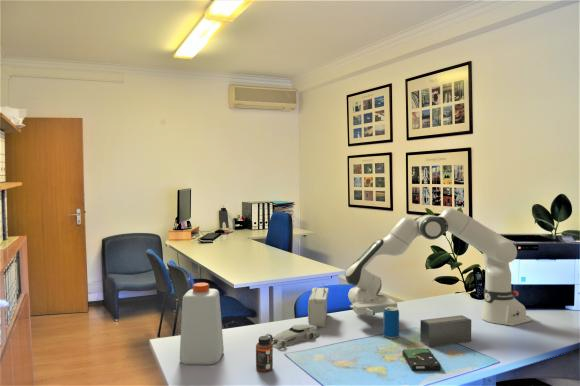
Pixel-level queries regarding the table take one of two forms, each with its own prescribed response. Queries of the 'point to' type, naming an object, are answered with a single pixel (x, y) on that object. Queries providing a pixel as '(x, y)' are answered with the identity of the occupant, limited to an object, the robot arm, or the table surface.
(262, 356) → the supplement bottle
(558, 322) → the table surface
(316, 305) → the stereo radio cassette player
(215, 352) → the plastic bottle
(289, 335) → the car model
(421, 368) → the disk drive
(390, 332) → the beverage can
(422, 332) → the box
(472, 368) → the table surface
